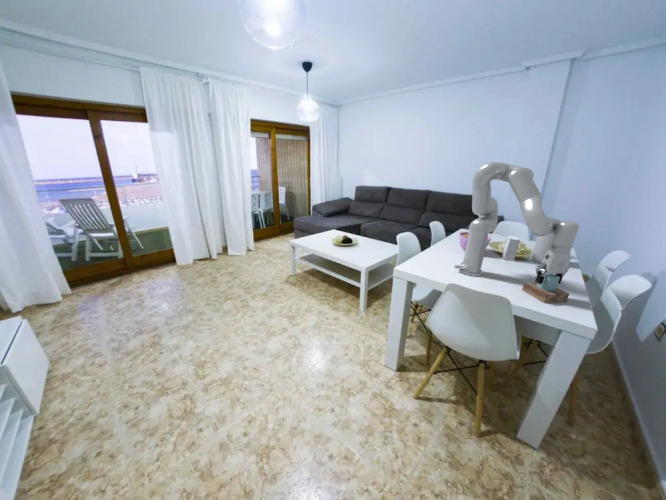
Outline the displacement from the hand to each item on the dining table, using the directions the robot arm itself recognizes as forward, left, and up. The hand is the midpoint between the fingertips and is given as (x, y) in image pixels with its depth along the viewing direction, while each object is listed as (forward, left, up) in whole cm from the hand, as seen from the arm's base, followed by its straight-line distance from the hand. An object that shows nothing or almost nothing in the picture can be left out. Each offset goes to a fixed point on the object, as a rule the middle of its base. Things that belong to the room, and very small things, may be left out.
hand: (547, 282), depth 119 cm
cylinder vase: (+42, +41, -7) cm, 59 cm away
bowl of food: (+7, +63, -7) cm, 63 cm away
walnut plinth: (0, 0, -7) cm, 7 cm away
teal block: (0, 0, -3) cm, 3 cm away
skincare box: (+22, +47, -7) cm, 52 cm away
